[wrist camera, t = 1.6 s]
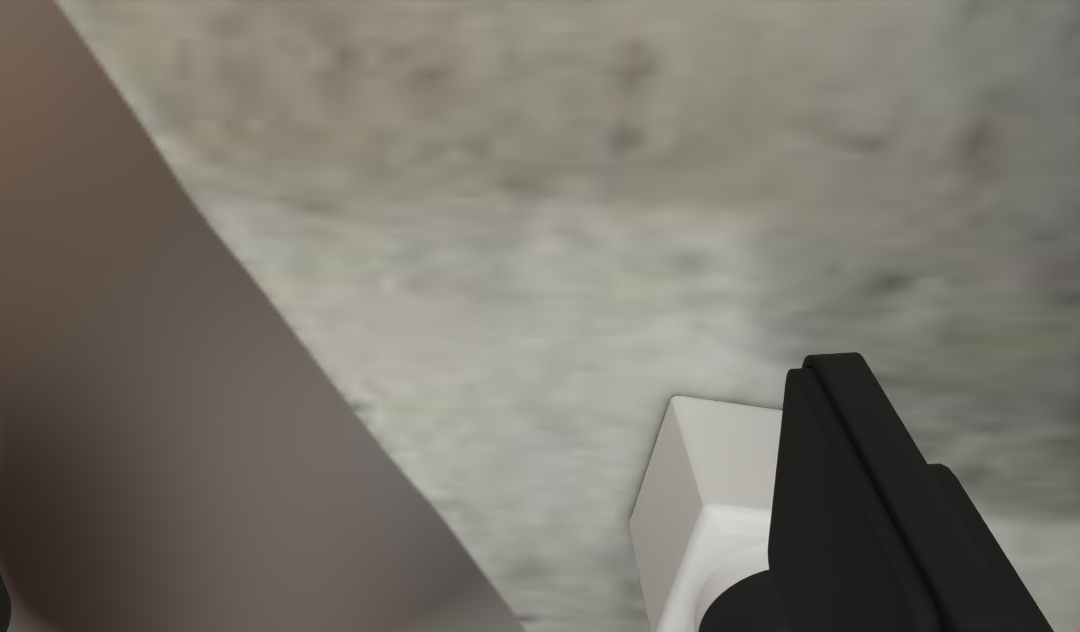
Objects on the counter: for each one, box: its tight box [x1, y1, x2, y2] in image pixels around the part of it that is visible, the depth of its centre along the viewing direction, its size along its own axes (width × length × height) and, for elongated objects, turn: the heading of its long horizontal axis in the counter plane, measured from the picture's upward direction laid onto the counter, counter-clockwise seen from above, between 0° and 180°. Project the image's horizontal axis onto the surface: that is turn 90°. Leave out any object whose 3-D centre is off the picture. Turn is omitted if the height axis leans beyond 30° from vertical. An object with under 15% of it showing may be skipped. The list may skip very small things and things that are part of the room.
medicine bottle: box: [629, 396, 789, 632], centre depth 39 cm, size 7×7×12 cm
